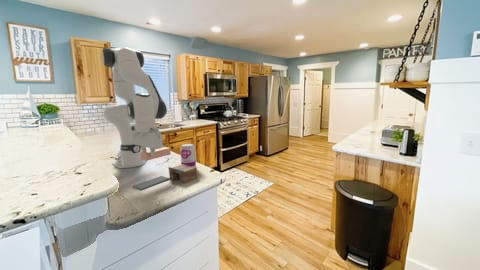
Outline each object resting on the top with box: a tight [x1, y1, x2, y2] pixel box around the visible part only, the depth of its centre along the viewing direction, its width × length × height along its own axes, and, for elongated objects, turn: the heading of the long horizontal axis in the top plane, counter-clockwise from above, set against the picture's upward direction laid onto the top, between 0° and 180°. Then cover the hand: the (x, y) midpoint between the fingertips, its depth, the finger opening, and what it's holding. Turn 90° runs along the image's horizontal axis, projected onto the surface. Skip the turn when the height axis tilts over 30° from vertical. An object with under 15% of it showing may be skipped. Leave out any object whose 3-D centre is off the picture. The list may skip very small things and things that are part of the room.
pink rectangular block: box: [141, 146, 172, 162], centre depth 108 cm, size 4×14×4 cm, turn 145°
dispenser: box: [167, 164, 198, 184], centre depth 112 cm, size 11×9×6 cm
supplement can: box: [179, 143, 197, 167], centre depth 125 cm, size 8×8×15 cm
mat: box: [132, 175, 170, 191], centre depth 107 cm, size 7×16×1 cm, turn 145°
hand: (148, 155), depth 105 cm, fingers closed on pink rectangular block, 4 cm apart
